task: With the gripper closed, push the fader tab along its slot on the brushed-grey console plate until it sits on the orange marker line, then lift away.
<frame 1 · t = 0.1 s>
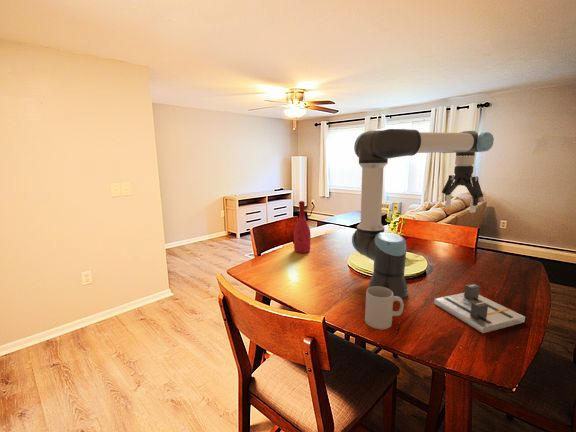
hand: (459, 210, 135), 28 cm above the table, fingers open, 13 cm apart
fader tab: (471, 291, 103), point 4 cm above the table, slide at 0.0 cm
console: (476, 312, 97), on the table
wine bottle: (302, 251, 166), on the table
mug: (383, 322, 93), on the table
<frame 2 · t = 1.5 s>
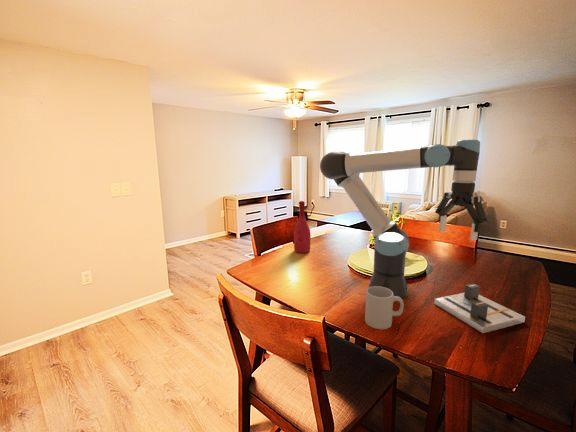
hand: (456, 235, 110), 23 cm above the table, fingers open, 13 cm apart
nothing on the table moved.
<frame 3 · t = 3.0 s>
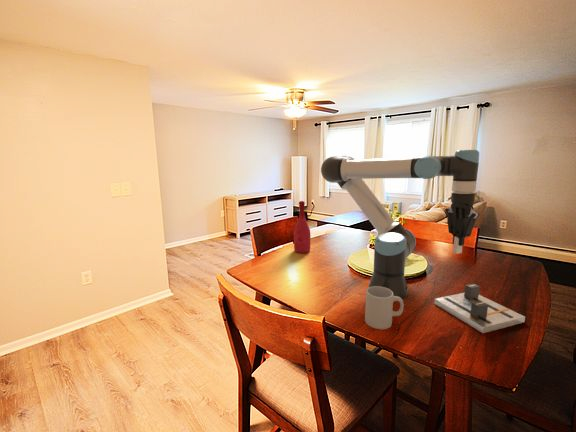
hand: (457, 252, 108), 17 cm above the table, fingers closed
nothing on the table moved.
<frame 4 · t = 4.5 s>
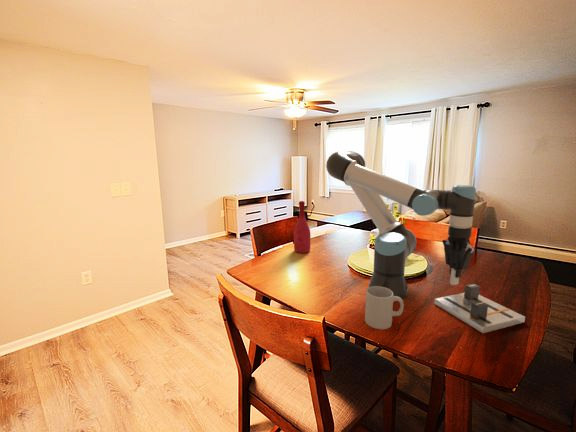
hand: (454, 283, 111), 4 cm above the table, fingers closed
nothing on the table moved.
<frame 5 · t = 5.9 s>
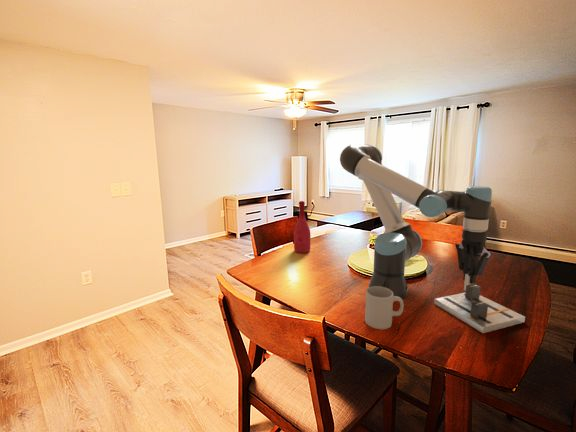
hand: (468, 290, 105), 4 cm above the table, fingers closed
fader tab: (472, 291, 103), point 4 cm above the table, slide at 0.4 cm, touching gripper
everything else where it was.
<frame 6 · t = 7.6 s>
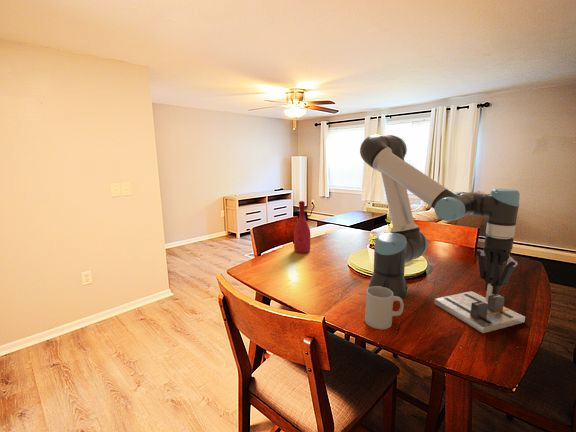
hand: (490, 301, 97), 4 cm above the table, fingers closed
fader tab: (495, 302, 95), point 4 cm above the table, slide at 8.9 cm, touching console, gripper
everything else where it was.
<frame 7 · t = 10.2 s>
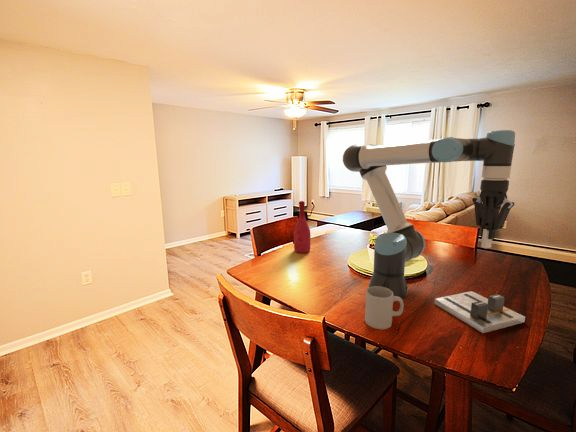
hand: (486, 247, 97), 22 cm above the table, fingers closed
fader tab: (495, 302, 95), point 4 cm above the table, slide at 8.9 cm, touching console
everything else where it was.
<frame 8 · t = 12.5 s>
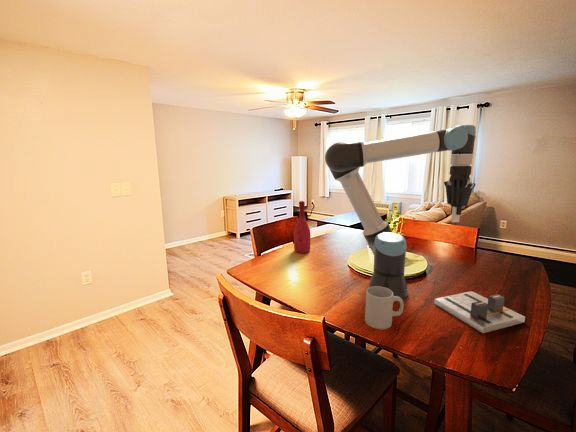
hand: (455, 221, 118), 26 cm above the table, fingers closed
nothing on the table moved.
at the end: fader tab slide at 8.9 cm; the gripper is holding nothing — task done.
